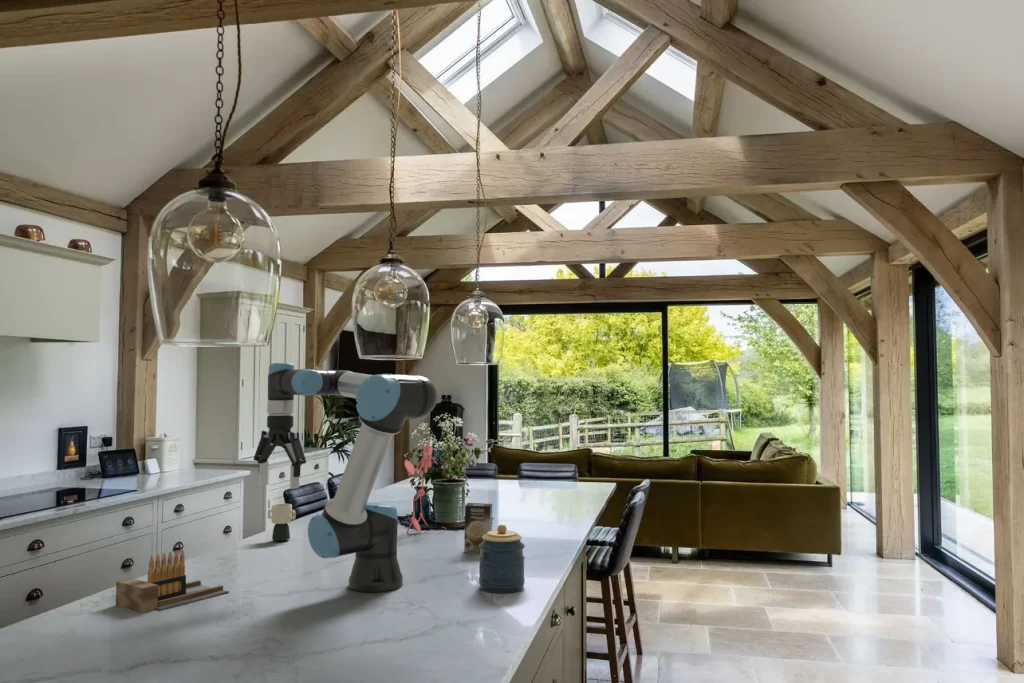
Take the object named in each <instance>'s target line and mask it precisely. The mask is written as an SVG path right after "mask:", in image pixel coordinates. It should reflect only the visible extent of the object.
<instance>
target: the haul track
mask: <svg viewBox="0 0 1024 683" xmlns="http://www.w3.org/2000/svg"><path fill="white" fill-rule="evenodd" d="M201 583H202V580H199V579H198V580H193V581H188V582H186V594H184V595H180V596H176V597H172V598H168V599H164V600H160V601H158V585H157V584H153V583H149V582H147V581H144V580H139V579H135V578H133V577H131V578H127V579H122V580H118V581H116V583H115V585H116V586H115V587H116V589H115V606H117V607H121V608H124V609H128V610H130V611H134V612H137V613H141V614H143V613H147V612H152V611H156V610H157V611H158V612H159V611H160V612H162V611H165V610H168V609H172V608H176V607H181V606H184V605H188V604H191V603H196V602H199V601H203V600H206V599H210V598H214V597H218V596H221V595H226V594H229V590H225V589H224V586H223V585H216V586H207V585H204V584H201Z"/></svg>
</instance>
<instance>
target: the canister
mask: <svg viewBox="0 0 1024 683" xmlns="http://www.w3.org/2000/svg"><path fill="white" fill-rule="evenodd" d="M522 538H523V537H522V535H520V534H519V533H518V532H517V531H515V530H509V529H508V530H507V526H506V525H505V524H502V523H501V524H499V525H498V526H497V529H496V530H492V531H489V532H487V534H485V535H483V536H482V539H484V540H483V542H482V543H480V544H479V547H480V549H481V553H480V555H479V556H478V560H479V566H478V569H479V572H478V573H479V576H478V585H479V589H480V590H482V591H484V592H488V593H495V594H509V593H510V594H511V593H515V592H519V591H522V590H523V589H524V586H525V559H526V558H525V556H524V548H525V547H526V546H525V544H524V543H523V542H522V541H521V539H522Z"/></svg>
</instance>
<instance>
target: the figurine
mask: <svg viewBox="0 0 1024 683" xmlns="http://www.w3.org/2000/svg"><path fill="white" fill-rule="evenodd" d="M422 452H423V454H422V458H421V459H420V461H419V463H418V464H417V466H416V467H415V466H414V465H413V463H412V462H410V461H409V460H408V459H405V460H404V467H405V469H406V470H407V475H408V476H409V477H410V476H411V475H412V476H413V477H414V476H415V472H416V473H417V474H418V475H419V476H420V477H421V489H419V490H418V491H417V494H418V496H417V497H416V498H415V499H414V500H413V501H412V502H413V503H412V504H413V507H412V508H413V516H411V522H410V525H409V526H408V528H407V530H406V533H409V532H410V529H411V526H412V525H413V528H414V529H415V530H416V531H417V532H418V533H419V534H421V526H420V524H419V522H420V521H421V519H422V521H423V523H424V524H425V525H426V527H427V528H429V526H428V525H429V524H428V523H427V522H426V520H425V518H424V515H423V508H422V507H423V506H422V497H423V496H425V494H426V492H425V490H424V476H423V475H422V474H421V473H420V472H421V470H422V469H423V468H424V469H423V470H424V471H423V472H424V474H426V473H428V471H429V470H428V468H429V469H431V468H432V460H433V462H434V463H435V464H436V465H438V462H437V461H436V460H435V459H434V457H433V456H432V455H433V446H431V442H430V441H428V442H427V443H426V445H423V448H422ZM418 468H419V469H418ZM419 471H420V472H419ZM418 499H419V501H420V511H421V512H420V513H419V515H420V516H419V517H418V518H416V517H415V501H417V500H418ZM417 519H418V520H417ZM442 528H444V529H445V531H442V532H441V534H442V533H444V532H446V530H447V528H446V527H443V526H442ZM437 534H438V535H439V534H440V532H438V533H437ZM402 535H404V533H402Z"/></svg>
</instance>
